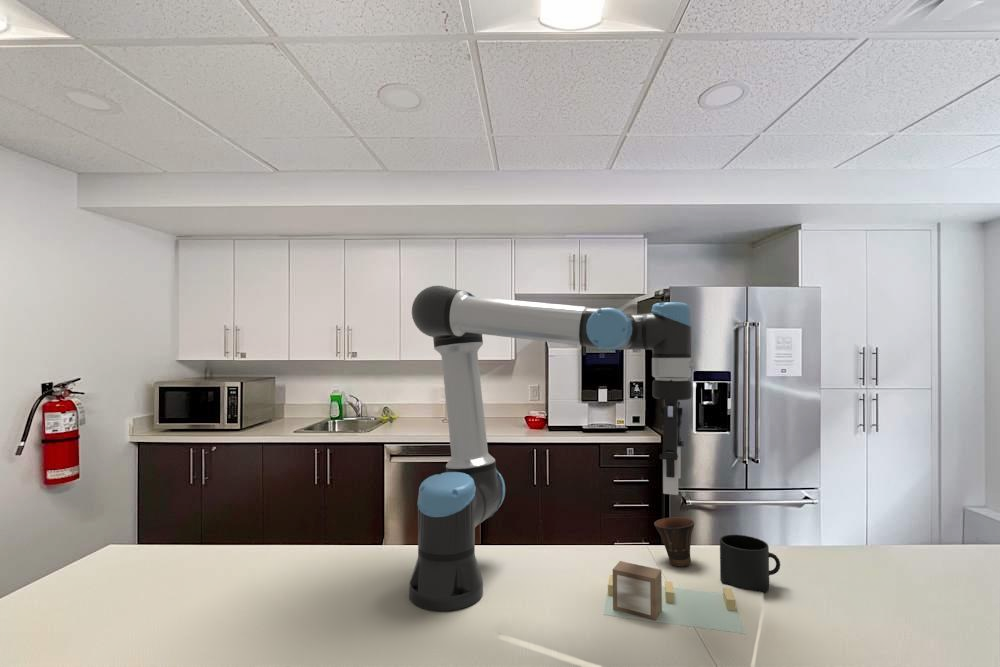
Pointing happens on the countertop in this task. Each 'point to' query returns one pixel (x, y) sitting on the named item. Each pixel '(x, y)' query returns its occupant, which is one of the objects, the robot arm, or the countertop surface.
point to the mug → (746, 563)
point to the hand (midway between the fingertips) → (672, 485)
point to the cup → (676, 538)
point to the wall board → (689, 608)
